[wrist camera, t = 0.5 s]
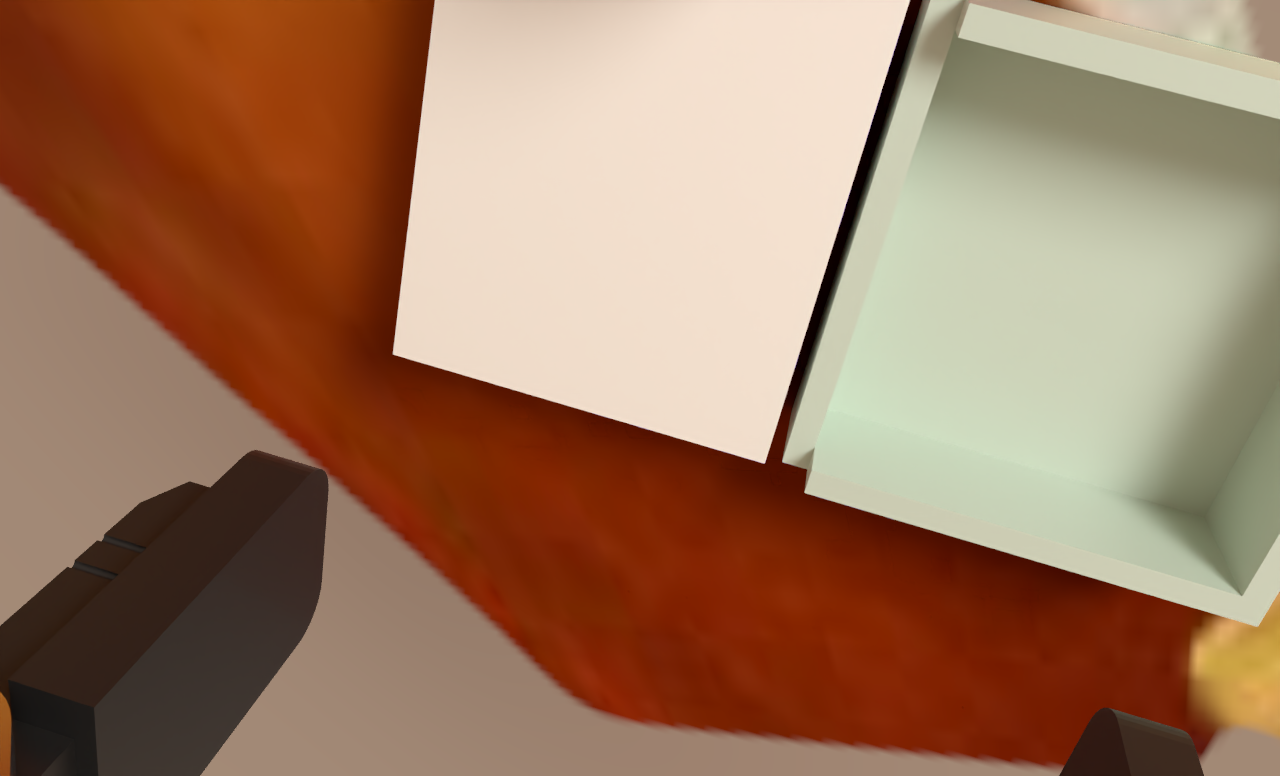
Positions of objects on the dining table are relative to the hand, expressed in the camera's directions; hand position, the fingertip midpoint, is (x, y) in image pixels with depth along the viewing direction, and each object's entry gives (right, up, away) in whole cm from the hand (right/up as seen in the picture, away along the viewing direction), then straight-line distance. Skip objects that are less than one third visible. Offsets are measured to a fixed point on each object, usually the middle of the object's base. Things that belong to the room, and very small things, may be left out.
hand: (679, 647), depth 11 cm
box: (+13, +6, +22) cm, 26 cm away
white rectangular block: (0, +10, +23) cm, 25 cm away
